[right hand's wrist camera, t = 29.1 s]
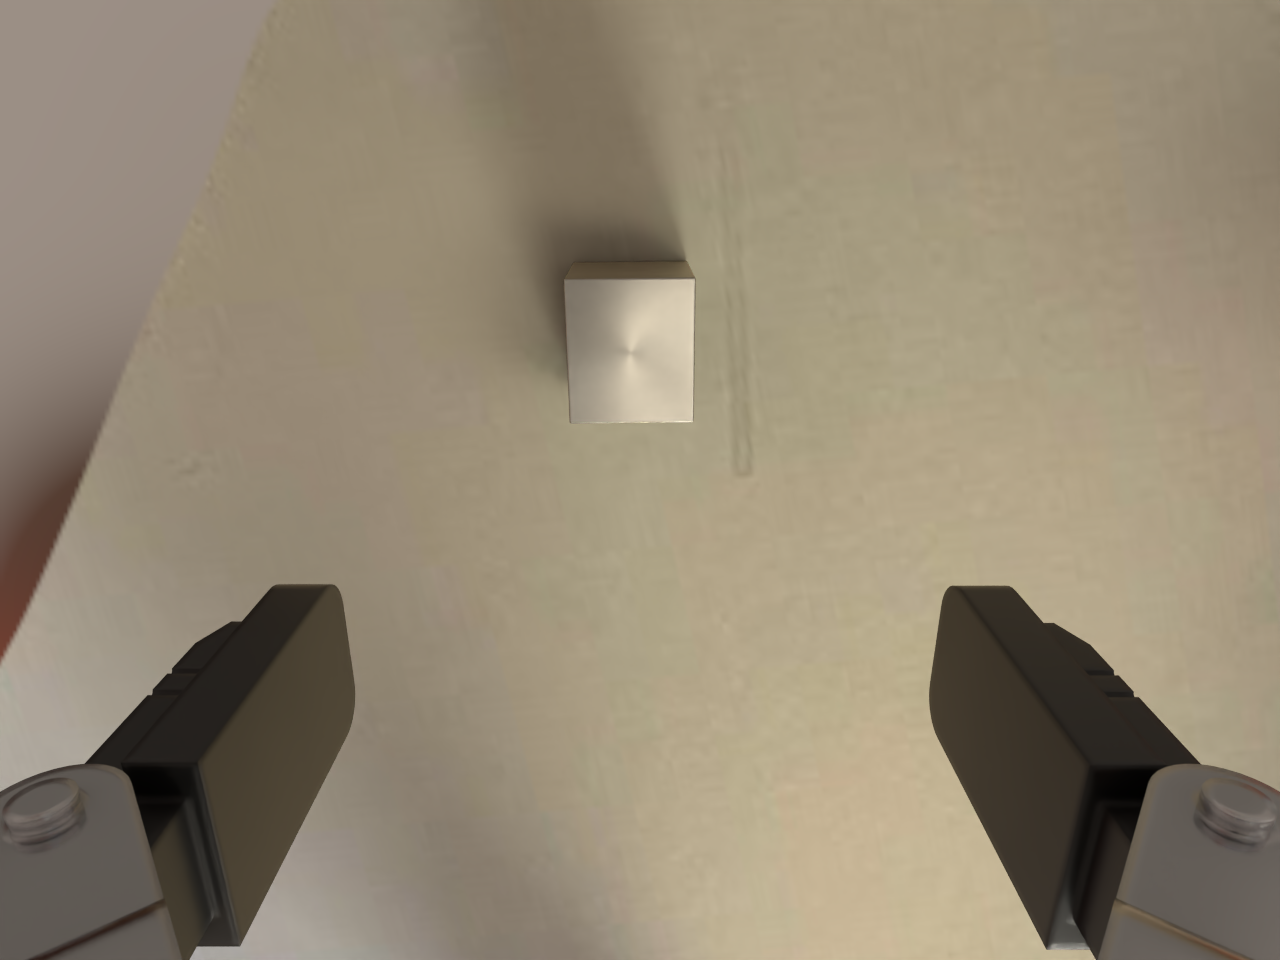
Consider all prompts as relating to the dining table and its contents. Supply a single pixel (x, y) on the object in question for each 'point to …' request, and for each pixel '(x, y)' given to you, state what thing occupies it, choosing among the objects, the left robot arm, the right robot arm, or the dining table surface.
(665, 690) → the dining table surface
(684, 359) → the block
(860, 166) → the dining table surface
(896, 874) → the dining table surface
